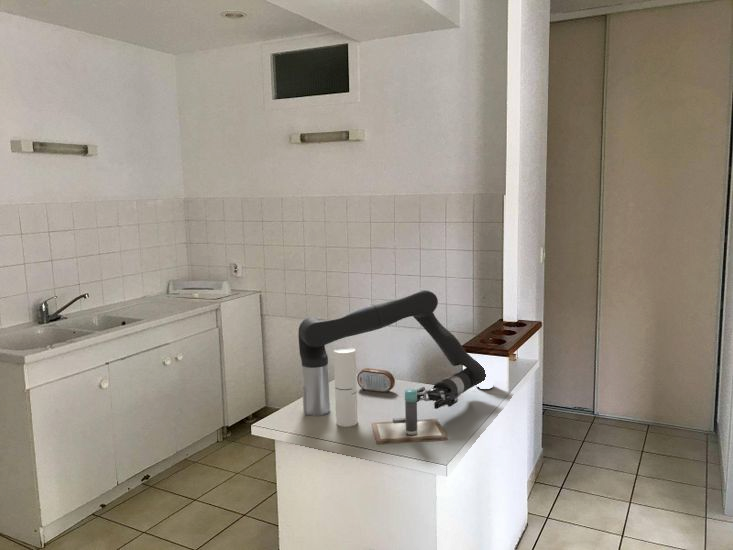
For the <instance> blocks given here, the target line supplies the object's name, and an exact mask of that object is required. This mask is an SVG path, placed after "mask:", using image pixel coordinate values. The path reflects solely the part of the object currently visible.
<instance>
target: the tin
mask: <svg viewBox="0 0 733 550" xmlns="http://www.w3.org/2000/svg"><path fill="white" fill-rule="evenodd" d="M356 382H357V384H358V386H359V387H360V388H361V389H362V390H365V391H368V390H371V391H370V392H376V391H381V392H380V393H384V392H385V393H388V392H390V391H391V390H392V389H393V388H394V387H395V385H396V380H395V377H394V375H393V374H392V373H391V372H390V371H388V370H384V369H376V368H368V367H367V368H363V369H362V370H361V371H360V372H359V373H358V374H357V375H356Z"/></svg>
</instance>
